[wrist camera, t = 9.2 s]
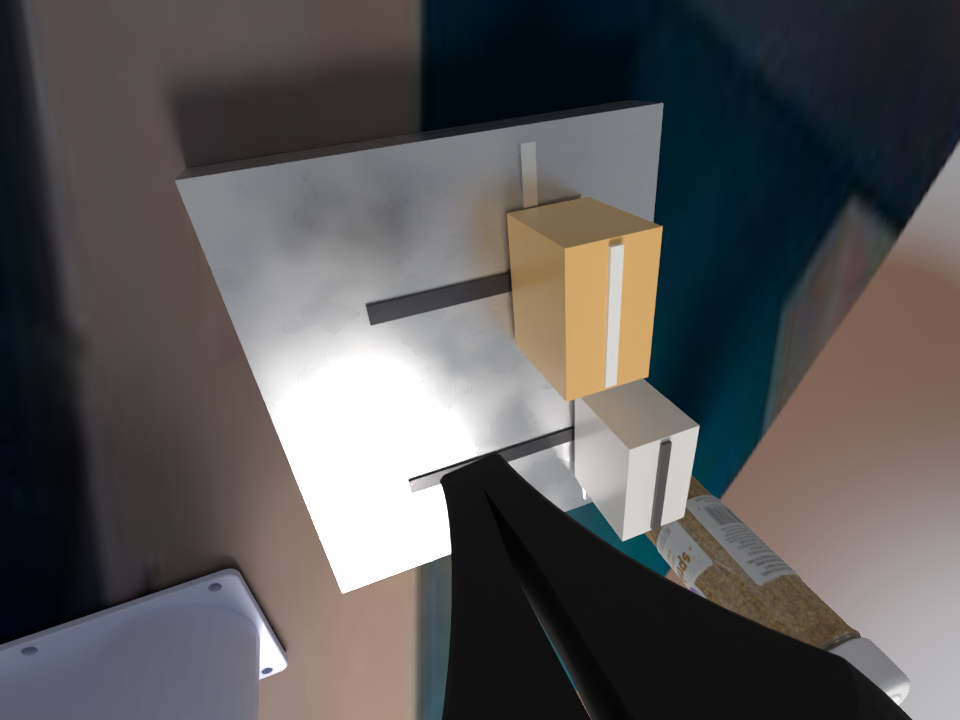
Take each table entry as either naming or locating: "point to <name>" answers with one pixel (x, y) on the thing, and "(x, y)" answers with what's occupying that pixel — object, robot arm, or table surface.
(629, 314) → the fader knob orange
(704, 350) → the table surface
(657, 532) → the sprinkles bottle
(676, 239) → the table surface
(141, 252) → the table surface
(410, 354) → the fader panel
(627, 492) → the fader knob white
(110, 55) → the table surface
